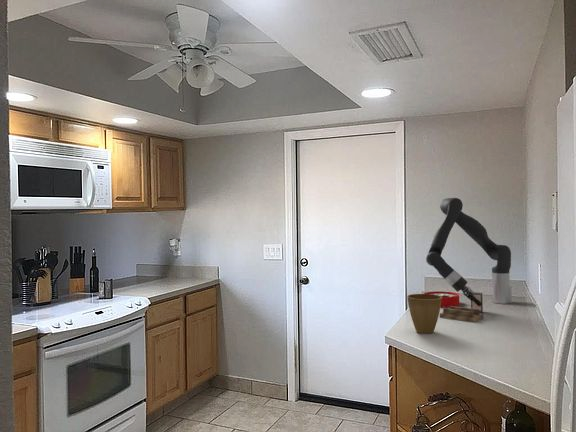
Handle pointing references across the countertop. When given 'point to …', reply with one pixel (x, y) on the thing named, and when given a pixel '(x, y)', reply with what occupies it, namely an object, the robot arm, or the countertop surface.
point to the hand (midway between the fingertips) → (480, 304)
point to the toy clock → (447, 298)
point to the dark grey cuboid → (474, 305)
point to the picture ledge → (461, 314)
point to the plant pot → (424, 311)
